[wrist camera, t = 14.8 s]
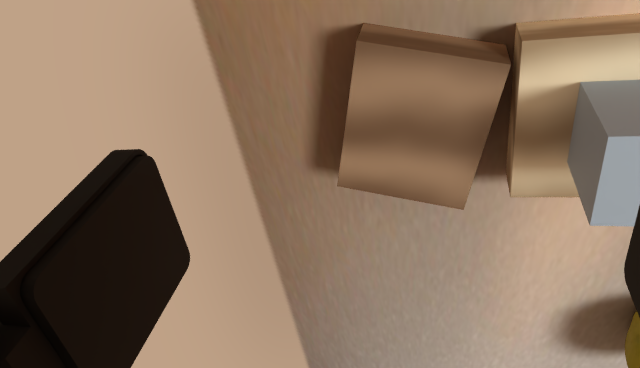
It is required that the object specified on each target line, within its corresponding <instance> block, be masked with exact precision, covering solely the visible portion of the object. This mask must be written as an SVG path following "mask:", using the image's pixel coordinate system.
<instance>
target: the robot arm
mask: <svg viewBox="0 0 640 368" xmlns="http://www.w3.org/2000/svg"><path fill="white" fill-rule="evenodd" d="M189 262H190V253H189V250H188V247H187V245H186V242H185V240H184V237H183V234H182V231H181V229H180V226H179V224H178V221H177V218H176V216H175V213H174V210H173V208H172V205H171V202H170V200H169V197H168V195H167V192H166V190H165V187H164V184H163V181H162V179H161V176H160V174H159V171H158V168H157V166H156V163H155V161H154V159H153V158H152V157H150V156H147V154H146V153H145V152H144V151H143V150H140V149H134V150H114V151H112V152H111V153H110V154H109V155H108V156H107V157H106V158H105V159H104V160H103V161H102V162H101V163H100V164H99V165H98V166H97V167H96V168H94V169H93V170H92V172H90V174H88V175H87V177H85V179H83V180H82V181H81V182H80V183H79V184H78V185H77V186H76V187H75V188H74V189H73V190H72V191H71V192H70V193H69V194H68V195H67V196H66V197H65V198H64V199H63V200H62V201H61V202H60V203H59V204H58V205H57V206H56V207H55V208H54V209H53V210H52V211H51V212H50V213H49V214H48V215H47V216H46V217H45V218H44V219H43V220H42V221H41V222H40V223H39V224H38V225H37V226H36V227H35V228H34V229H33V230H32V231H31V232H30V233H29V234H28V235H27V236H26V237H25V238H24V239H23V240H22V241H21V242H20V243H19V244H18V245H17V246H16V247H15V248H14V249H13V250H12V251H11V252H10V253H9V254H8V255H7V256H6V257H5V258H4V259H3V260H2V261H1V262H0V368H131V366H132V364H133V363H134V361H135V359H136V357H137V356H138V354H139V352H140V350H141V349H142V347H143V345H144V343H145V342H146V340H147V338H148V337H149V335H150V333H151V331H152V330H153V328H154V326H155V324H156V323H157V321H158V319H159V317H160V316H161V314H162V312H163V310H164V309H165V307H166V305H167V303H168V302H169V300H170V298H171V297H172V295H173V293H174V291H175V290H176V288H177V286H178V284H179V283H180V281H181V279H182V277H183V276H184V274H185V272H186V270H187V269H188V266H189ZM624 273H625V281H626V284H627V287H628V290H629V292H630V295H631V297H632V300H633V302H634V305H635V307H636V310H637V312H638V315H639V318H640V205H639V209H638V213H637V217H636V221H635V225H634V229H633V233H632V237H631V241H630V245H629V249H628V253H627V257H626V261H625V267H624Z"/></svg>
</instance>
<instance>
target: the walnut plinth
mask: <svg viewBox="0 0 640 368" xmlns="http://www.w3.org/2000/svg"><path fill="white" fill-rule="evenodd" d="M510 67H511V62H510V59H509V55H508V51H507V48H506V45H505V44H498V43H492V42H485V41H479V40H472V39H466V38H459V37H452V36H446V35H439V34H433V33H426V32H420V31H413V30H407V29H400V28H394V27H387V26H381V25H374V24H367V23H363V26H362V28H361V31H360V33H359V36H358V38H357V41H356V49H355V56H354V64H353V71H352V79H351V86H350V94H349V101H348V109H347V116H346V124H345V132H344V139H343V147H342V154H341V162H340V169H339V177H338V184H337V186H340V187H345V188H350V189H356V190H361V191H366V192H372V193H377V194H382V195H387V196H393V197H398V198H403V199H409V200H414V201H419V202H425V203H430V204H435V205H441V206H446V207H451V208H457V209H462V210H464V207H465V204H466V201H467V197H468V194H469V191H470V188H471V185H472V182H473V179H474V176H475V173H476V170H477V167H478V164H479V161H480V158H481V155H482V152H483V149H484V146H485V143H486V140H487V137H488V134H489V131H490V128H491V125H492V121H493V118H494V115H495V112H496V109H497V106H498V103H499V100H500V97H501V94H502V91H503V88H504V85H505V82H506V79H507V76H508V73H509V70H510Z"/></svg>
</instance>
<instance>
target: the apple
mask: <svg viewBox="0 0 640 368" xmlns="http://www.w3.org/2000/svg"><path fill="white" fill-rule="evenodd" d="M625 356H626V361H627V365H628V368H640V318H639V315H638V312H637V311H636V312H635V314H634V316H633V319H632V322H631V325H630V328H629V330H628V333H627V336H626V341H625Z"/></svg>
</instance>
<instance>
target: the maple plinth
mask: <svg viewBox="0 0 640 368" xmlns="http://www.w3.org/2000/svg"><path fill="white" fill-rule="evenodd" d="M620 80H640V13H638V14H625V15H613V16H600V17H587V18H575V19H562V20H549V21H537V22H524V23H516V31H515V46H514V60H513V75H512V90H511V105H510V119H509V134H508V149H507V164H506V175H507V181H508V186H509V192H510V197H580V196H579V194H578V191H577V188H576V185H575V182H574V180H573V177H572V174H571V171H570V168H569V166H568V163H567V160H568V154H569V148H570V142H571V136H572V130H573V123H574V117H575V111H576V105H577V99H578V93H579V87H580V82H594V81H620Z"/></svg>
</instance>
